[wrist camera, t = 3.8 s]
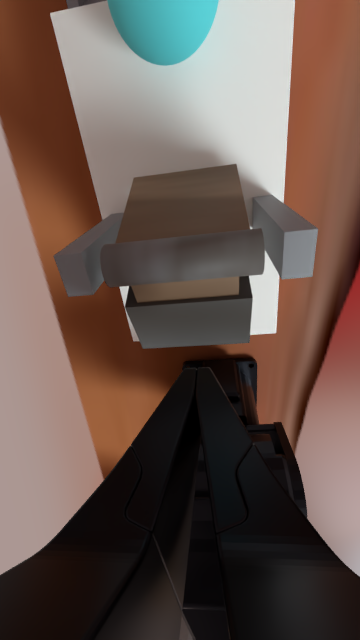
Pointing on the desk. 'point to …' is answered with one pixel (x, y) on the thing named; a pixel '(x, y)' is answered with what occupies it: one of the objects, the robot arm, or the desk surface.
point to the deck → (187, 131)
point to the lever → (186, 258)
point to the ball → (163, 27)
